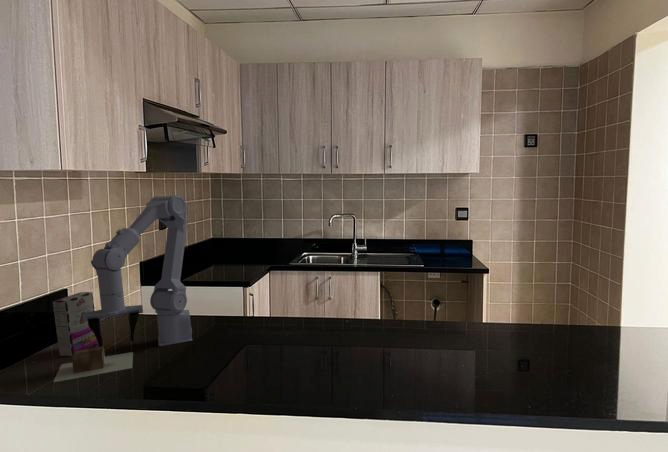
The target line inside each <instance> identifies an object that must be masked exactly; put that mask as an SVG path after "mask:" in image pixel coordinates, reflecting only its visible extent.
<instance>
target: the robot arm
mask: <svg viewBox="0 0 668 452" xmlns="http://www.w3.org/2000/svg"><path fill="white" fill-rule="evenodd" d="M188 207H189V206H188V203H187V201H186V200H185V199H184V198H183V196H181V195H179V194H174V195H163V196H159V195H157V196H153V197H152V198H151V199H150V200H149V201H147V202H146V206H145V208H144V209H143V210H142V212H140V214H139V215H138V216H137V218H136V219H135V220H134V221H133V223H132V224H131V225H130V226H129V227H128V228H127V227H124V228H122V229H118V230H116V232H115V236H114V237H113V238H112V239H111V240H110V241H108V242H106V243H105V244H104V245H105V246H104V247H103V248H100V249H98V250H95V252H94V254H93V256H92V259H91V260H90V264H91V267H92V268H93V269H94V270H95V273H96V275H97V281H98V282H97V283H98V291H99V300H100V302H99V303H100V308H101V309H98V310H95V311H92V312H87V313H83V322H85V321H88V325H89V327H90V328H91V330H92V331H93V333H94V334H95V336H96V338H97V341H98V344H97V345H98V348H99V347H103V346H104V343H103V336H102V332H101V331H102V330H101V319H107V318H113V317H114V318H115V317H120V316H127V315H128V321H129V335H130V336H129V337H130V343H131V342H134V341H135V339H134V337H135V330H136V326H137V323H138V321H139V317H140V314H144V306H143V304H139V305H125V296H124V287H123V277H122V268H124V266H125V264H126V258H127V257H128V255H129V254H130V253H131V252H132V250H133V249H134V248H135V247H136V246H137V245H138V244H139V243H140V236H141V234H142V233H144V232H145V231H146V230H147V229H148V228H149V227H150V226H151V225H152V224H153V223H154V222H155V221H157V220H159V221H160V222H161V223H162V224H164V226H166V228H167V235H166V243H165V249H164V257H163V263H162V271H161V278H160V279H159V281H158V282H157V283H155V285H154V289H153V292H152V293H151V295H150V300H149V301H150V307H151V308H152V309H153V310H155V314H156V315H157V325H158V326H157V328H158V337H157V341H158V342H157V343H158V347H163V346H169V345H175V344H181V343H186V342H187V343H188V342H192V341H193V336H192V334H193V329H192V324H191V316H190V311H189V309H185V308H186V306H187V303H188V297H187V293H186V292H187V287H186V285H184V283H182V282H181V277H182V269H183V261H184V253H185V246H186V240H187V239H186V238H187V229H188V220H187V216H188V215H187V214H188Z"/></svg>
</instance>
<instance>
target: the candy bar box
mask: <svg viewBox="0 0 668 452" xmlns="http://www.w3.org/2000/svg"><path fill="white" fill-rule="evenodd" d="M94 303H95V302H94V295H93V291H85V292H84V291H79V292H77V293H74V294H71V295H68V296H65V297H61V298H59V299H56V300H53V301H52V310H53V316H54V324H55V329H56V330H55V333H56V339H57V344H58V345H57V346H58V352H59V353H58V354H59V356H61V357H62V356H63V357H73V355H74V352H75V351H81V350H87V349H92V347H93V348H94V347H95V346H97V345H99V344H98V341H97V338H96V336H95V334H94V333H93V331H92V330H91V328H90V327H89V325H88V321H85V322H83V313H87V312H92V311H96V310H95V309H96V308H95V304H94Z"/></svg>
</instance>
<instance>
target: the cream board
mask: <svg viewBox="0 0 668 452" xmlns="http://www.w3.org/2000/svg"><path fill="white" fill-rule="evenodd" d="M133 360H134V352H131V351H130V352H126V353H120V354H113V355H107V356H106V355H105V365H104V368H102V369H96V370H90V371H85V372H79V373H74V372H73V363H72V362H67V363H61V365H60V366H59V369H58V371H57V372H56V375H55V377H54V379H53V381H52V382H53V383H58V382H64V381H68V380H69V381H70V380H74V379H80V378H86V377H90V376H96V375H101V374H107V373H113V372H117V371H124V370H130V369H133Z"/></svg>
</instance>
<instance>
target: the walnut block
mask: <svg viewBox="0 0 668 452" xmlns="http://www.w3.org/2000/svg"><path fill="white" fill-rule="evenodd" d="M71 357H72V358H71V360H72V361H71V363H73V372H74V373H79V372H85V371H90V370H96V369H102V368H104V365H105V357H106V354H105V347H104V346H102V347H99V346H98V347H93V348H89V349H87V350H81V351H75V352H74V355H73V356H71Z"/></svg>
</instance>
